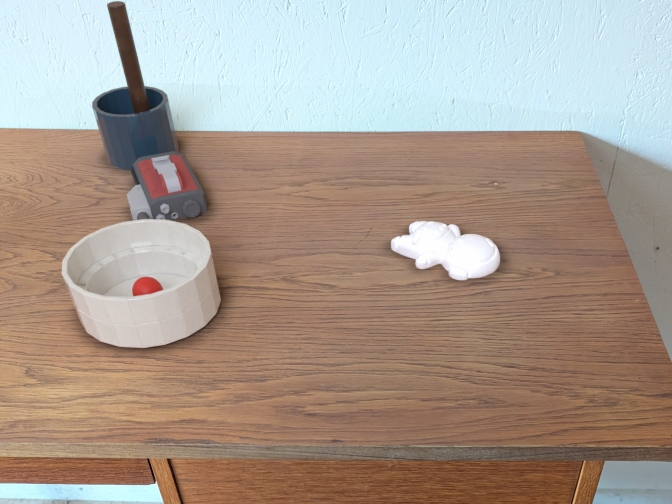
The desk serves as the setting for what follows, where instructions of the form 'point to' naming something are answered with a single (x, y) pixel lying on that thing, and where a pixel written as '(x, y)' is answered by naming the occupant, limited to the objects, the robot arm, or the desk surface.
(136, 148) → the crock
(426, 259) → the white animal figurine
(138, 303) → the bowl
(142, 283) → the red ball
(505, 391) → the desk surface
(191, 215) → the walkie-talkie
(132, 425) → the desk surface
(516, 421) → the desk surface
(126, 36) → the stick
